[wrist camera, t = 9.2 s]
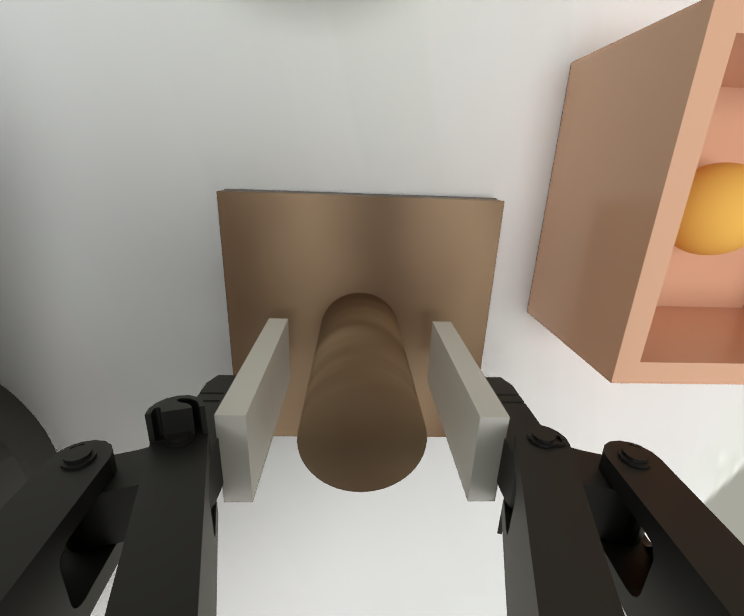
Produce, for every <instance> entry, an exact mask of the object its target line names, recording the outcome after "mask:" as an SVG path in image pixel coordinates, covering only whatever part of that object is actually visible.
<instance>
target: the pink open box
mask: <svg viewBox="0 0 744 616" xmlns="http://www.w3.org/2000/svg"><path fill="white" fill-rule="evenodd" d="M723 162H730V163H740V164H744V0H701V1H699V2H697V3H695V4H693V5H691V6H689V7H687V8H685V9H683V10H681V11H678V12H676V13H674V14H672V15H670V16H668V17H666V18H664V19H662V20H660V21H658V22H656V23H653V24H651V25H649V26H647V27H645V28H643V29H641V30H639V31H637V32H635V33H633V34H631V35H628V36H626V37H624V38H622V39H620V40H618V41H616V42H614V43H612V44H610V45H608V46H605V47H603V48H601V49H599V50H597V51H595V52H593V53H591V54H589V55H587V56H585V57H583V58H580V59H578V60H576V61H574V62H572V63H571V69H570V74H569V80H568V86H567V91H566V97H565V103H564V108H563V114H562V119H561V125H560V131H559V136H558V142H557V148H556V153H555V159H554V164H553V170H552V176H551V181H550V187H549V193H548V198H547V204H546V209H545V215H544V221H543V226H542V232H541V238H540V243H539V249H538V254H537V260H536V266H535V271H534V277H533V283H532V288H531V294H530V299H529V305H528V311H527V312H528V313H529V314H530V315H531V316H533V317H534V318H535V319H536V320H537V321H538V322H540V323H541V324H542V325H543V326H544V327H546V328H547V329H548V330H549V331H550V332H552V333H553V334H554V335H555V336H556V337H557V338H559V339H560V340H561V341H562V342H563V343H565V344H566V345H567V346H568V347H569V348H570V349H572V350H573V351H574V352H575V353H576V354H578V355H579V356H580V357H581V358H582V359H583V360H585V361H586V362H587V363H588V364H589V365H591V366H592V367H593V368H594V369H595V370H596V371H598V372H599V373H600V374H601V375H602V376H604V377H605V378H606V379H607V380H608V381H609V382H611V383H660V384H744V247H742V248H740V249H738V250H735V251H732V252H729V253H725V254H719V255H697V254H692V253H688V252H685V251H683V250H680V249H679V248H677V247H675V246H674V244H675V241H676V237H677V234H678V231H679V227H680V224H681V220H682V217H683V214H684V210H685V207H686V203H687V200H688V196H689V193H690V190H691V186H692V183H693V179H694V176H695V172H696V169H697V168H699V167H702V166H705V165H709V164H714V163H723Z"/></svg>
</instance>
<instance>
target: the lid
mask: <svg viewBox="0 0 744 616" xmlns="http://www.w3.org/2000/svg"><path fill="white" fill-rule="evenodd" d="M217 201H218V212H219V223H220V234H221V245H222V255H223V266H224V277H225V288H226V299H227V310H228V321H229V332H230V343H231V354H232V365H233V375H237V374H238V372H239V370H240V369H241V367H242V365H243V363H244V362H245V360H246V358H247V356H248V355H249V353H250V351H251V349H252V347H253V346H254V344H255V342H256V340H257V339H258V337H259V335H260V333H261V332H262V330H263V328H264V326H265V325H266V323H267V321H268V319H269V318H280V319H288V327H289V354H290V382H289V385H288V388H287V391H286V395H285V398H284V401H283V405H282V408H281V411H280V414H279V418H278V421H277V424H276V428H275V431H274V434H273V436H297V444H298V450H299V453H300V456H301V458H302V461H303V462H304V464H305V465H306V467H307V468H308V469H309V471H310V472H311V473H312V474H313V475H315V476H316V477H317V478H318V479H320V480H321V481H323V482H324V483H326V484H328V485H330V486H333V487H335V488H338V489H342V490H346V491H352V492H369V491H375V490H380V489H383V488H386V487H389V486H391V485H393V484H395V483H397V482H399V481H401V480H402V479H404V478H405V477H406V476H408V475H409V474H410V473H411V472H412V471H413V470H414V469H415V468H416V466H417V465H418V463H419V462H420V460H421V458H422V456H423V454H424V451H425V448H426V443H427V437H446V435H445V432H444V429H443V426H442V423H441V420H440V417H439V414H438V411H437V408H436V405H435V402H434V399H433V396H432V393H431V390H430V388H429V385H428V382H427V375H428V365H429V354H430V343H431V333H432V322H433V321H440V322H451V323H452V324H453V326H454V328H455V329H456V331H457V332H458V334H459V336H460V337H461V339H462V341H463V342H464V344H465V345H466V347H467V349H468V350H469V352H470V353H471V355H472V357H473V358H474V360H475V362H476V363H477V365H478V366H479V368H480V369H481V362H482V355H483V348H484V341H485V334H486V327H487V320H488V313H489V306H490V299H491V292H492V285H493V278H494V271H495V264H496V257H497V250H498V243H499V236H500V229H501V222H502V215H503V208H504V201H500V200H494V199H465V198H436V197H407V196H378V195H349V194H320V193H291V192H262V191H233V190H222V191H217Z"/></svg>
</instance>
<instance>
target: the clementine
mask: <svg viewBox="0 0 744 616" xmlns="http://www.w3.org/2000/svg"><path fill="white" fill-rule="evenodd" d="M674 246H675V247H677V248H679V249H680V250H683V251H685V252H688V253H692V254H697V255H719V254H725V253H729V252H732V251H735V250H738V249H740V248H742V247H744V164H740V163H730V162H723V163H714V164H709V165H705V166H702V167H699V168H697V169H696V172H695V176H694V179H693V183H692V186H691V190H690V193H689V196H688V200H687V203H686V207H685V210H684V214H683V217H682V220H681V224H680V227H679V231H678V234H677V237H676V241H675V244H674Z"/></svg>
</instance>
